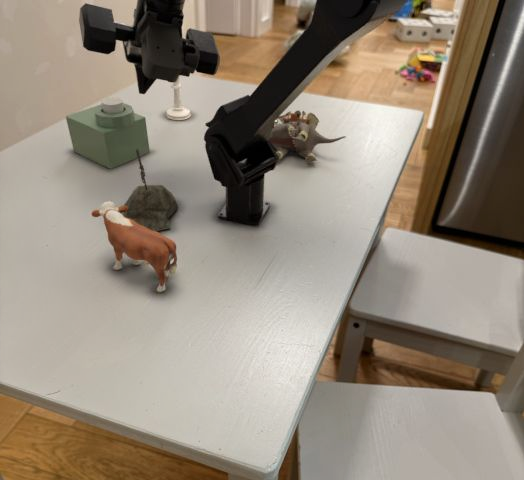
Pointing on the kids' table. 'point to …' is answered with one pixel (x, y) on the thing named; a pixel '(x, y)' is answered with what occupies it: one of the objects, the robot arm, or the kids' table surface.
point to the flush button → (112, 105)
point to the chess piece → (177, 105)
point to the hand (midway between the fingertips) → (141, 92)
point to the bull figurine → (138, 242)
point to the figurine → (297, 135)
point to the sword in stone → (150, 204)
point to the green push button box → (108, 135)
